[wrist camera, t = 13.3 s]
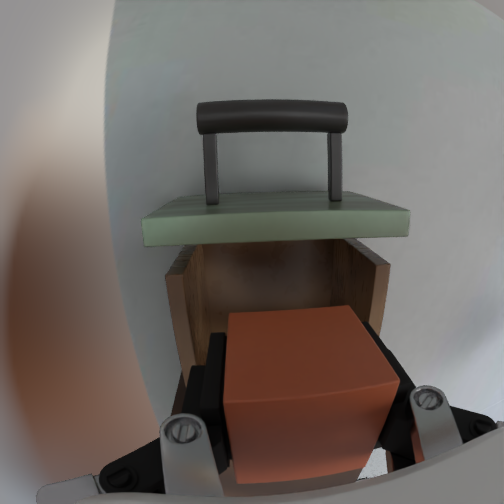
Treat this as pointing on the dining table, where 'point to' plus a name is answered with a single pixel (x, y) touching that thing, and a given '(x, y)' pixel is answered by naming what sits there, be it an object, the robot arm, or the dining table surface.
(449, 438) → the robot arm
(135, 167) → the dining table surface
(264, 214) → the drawer
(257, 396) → the block
